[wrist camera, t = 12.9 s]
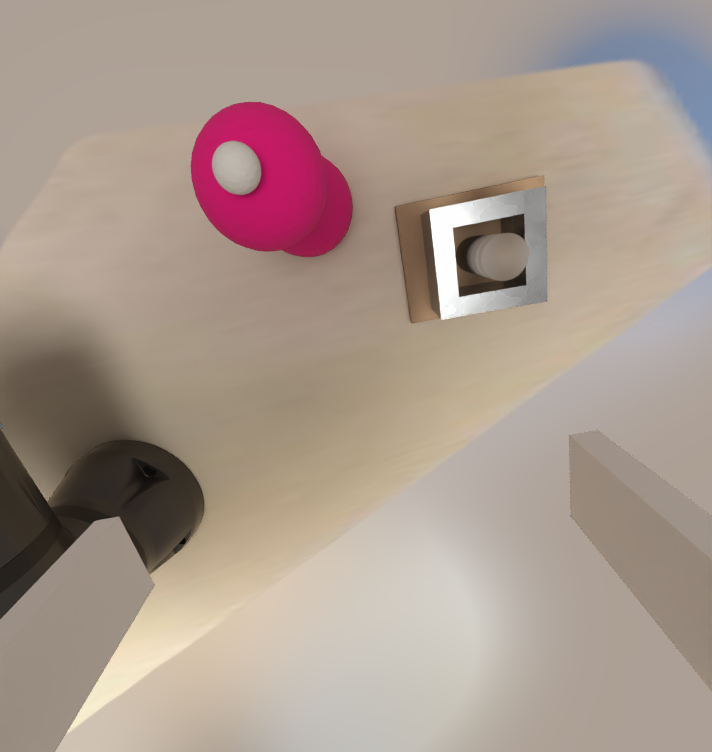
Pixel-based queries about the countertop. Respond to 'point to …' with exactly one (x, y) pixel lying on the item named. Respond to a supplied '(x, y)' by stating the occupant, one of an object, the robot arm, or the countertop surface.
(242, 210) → the pepper mill
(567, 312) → the countertop surface
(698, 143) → the countertop surface
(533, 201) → the grey square ring block
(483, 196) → the peg on square base
